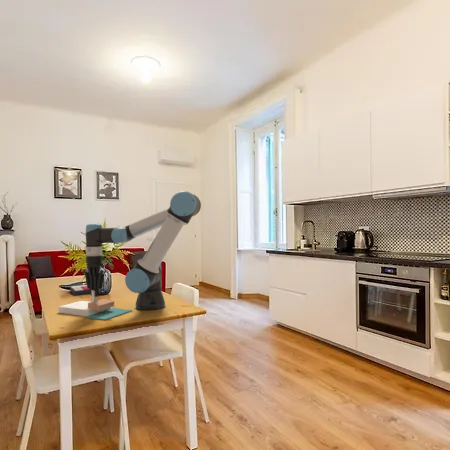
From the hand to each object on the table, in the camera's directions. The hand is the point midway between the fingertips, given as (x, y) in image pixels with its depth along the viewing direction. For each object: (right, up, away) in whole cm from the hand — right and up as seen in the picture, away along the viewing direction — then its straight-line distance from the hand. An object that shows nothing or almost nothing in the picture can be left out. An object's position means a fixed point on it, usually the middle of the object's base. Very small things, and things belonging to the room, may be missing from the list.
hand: (94, 303), depth 161 cm
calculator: (-29, -6, +51) cm, 59 cm away
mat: (+9, -4, -4) cm, 10 cm away
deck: (-6, -5, +2) cm, 8 cm away
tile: (+4, -2, -2) cm, 4 cm away
